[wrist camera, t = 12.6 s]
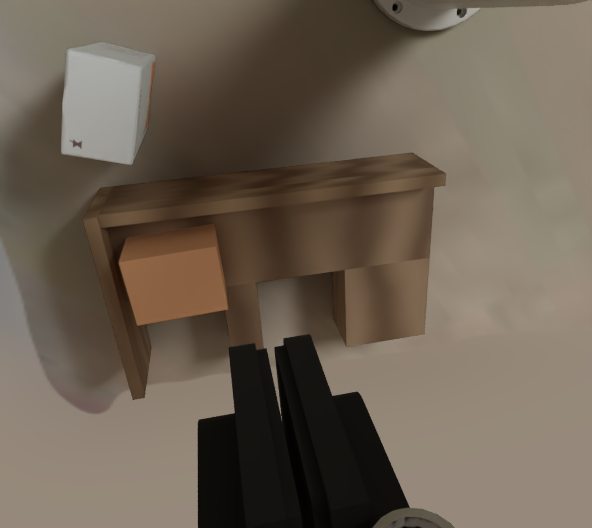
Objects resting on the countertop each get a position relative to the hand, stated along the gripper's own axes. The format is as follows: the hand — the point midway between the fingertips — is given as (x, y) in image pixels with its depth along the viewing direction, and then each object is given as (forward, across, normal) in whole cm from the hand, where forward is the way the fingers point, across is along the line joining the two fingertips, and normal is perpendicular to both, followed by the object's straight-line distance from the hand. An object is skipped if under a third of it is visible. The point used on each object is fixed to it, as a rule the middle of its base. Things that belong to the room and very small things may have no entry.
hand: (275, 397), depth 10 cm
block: (+30, +5, +11) cm, 32 cm away
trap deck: (+35, -3, +14) cm, 38 cm away
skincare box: (+35, +7, -3) cm, 36 cm away
